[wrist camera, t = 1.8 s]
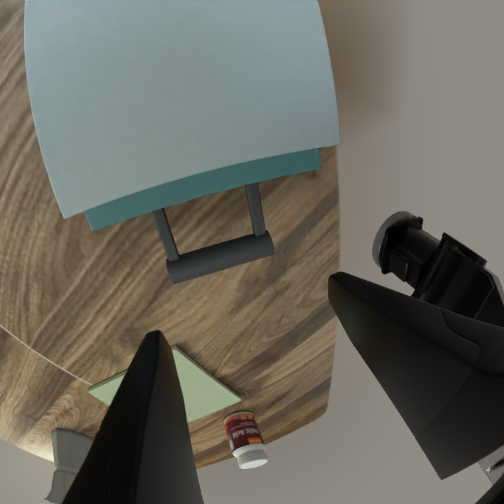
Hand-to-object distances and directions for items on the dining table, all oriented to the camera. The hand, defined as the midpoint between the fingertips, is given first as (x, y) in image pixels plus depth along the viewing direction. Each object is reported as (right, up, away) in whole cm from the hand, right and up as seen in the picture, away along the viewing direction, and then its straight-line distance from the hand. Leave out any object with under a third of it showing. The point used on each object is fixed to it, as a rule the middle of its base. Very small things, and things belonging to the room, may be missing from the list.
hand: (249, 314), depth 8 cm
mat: (-10, -16, +21) cm, 28 cm away
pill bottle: (-2, -23, +28) cm, 36 cm away
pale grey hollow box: (-5, +15, +5) cm, 17 cm away
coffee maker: (-30, -30, +23) cm, 48 cm away
